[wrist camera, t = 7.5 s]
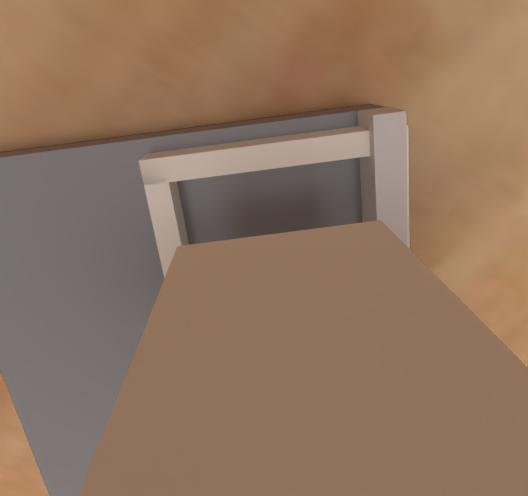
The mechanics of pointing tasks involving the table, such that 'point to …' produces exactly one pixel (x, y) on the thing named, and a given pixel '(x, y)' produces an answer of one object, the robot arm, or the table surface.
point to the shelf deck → (158, 244)
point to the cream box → (314, 378)
